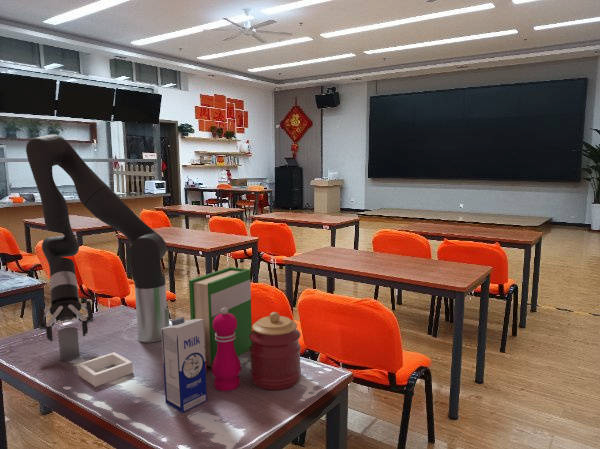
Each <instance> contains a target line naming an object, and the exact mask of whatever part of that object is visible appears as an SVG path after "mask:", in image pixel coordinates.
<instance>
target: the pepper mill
mask: <svg viewBox="0 0 600 449" xmlns="http://www.w3.org/2000/svg"><path fill="white" fill-rule="evenodd" d="M236 328H237V320H236V318H235V316H234V315H232V314H230V313H228V309H227V308H222V309H221V314H219V315H217V316H216V317H215V318H214V320H213V330H214V331H215V332H216V333H215V340H216V341H217V354H216V356H215V359H214V361H213V364H212V371H211V373H212V375H213V376H214V380H213V381H214V383H213V384H214V389H216V390H218V391H220V392H221V391H222V392H229V391H234V390H236V389H237V388H239V386H240V383H241V381H240V380H241V379H240V373H241V371H242V364H241V361H240V360H241V359H240V358H239V356H237V354H236V351H235V348H234V339H235V338H236V336H235V334H236V333H235V332H234V331H235V329H236Z"/></svg>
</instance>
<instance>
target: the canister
mask: <svg viewBox="0 0 600 449" xmlns="http://www.w3.org/2000/svg"><path fill="white" fill-rule="evenodd" d="M297 326H298V324H297V322H295V321H294V320H292V319H291V318H289V317H287V316H283V315H280V314H279V313H278V312H276V311H272V312H270V314H269V316H263V317H262V318H260V319H258V320H257V321H256V322H254V323H252V332H251V333H250V335H249V338H250V340H251V346H250V349H249V351H250V352H249V354H250V370H249V375H250V379H251V383H252V384H253V385H254V386H255V387H257V388H259V389H263V390H269V391H279V390H285V389H289V388H291V387H294V386H295V385H297V384H298V383H299V381H300V379H301V375H302V366H301V349H302V346H301V344H300V342H299V339H300V338H301V332H300V331H299V329H297Z"/></svg>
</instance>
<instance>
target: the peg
mask: <svg viewBox="0 0 600 449" xmlns="http://www.w3.org/2000/svg"><path fill="white" fill-rule="evenodd" d="M57 338H58V349H59V358H60V359H59V360H60V361H64V362H66V361H73V360H76V359H77V358H80V345H79V343H80V342H79V332H78V328H77V327H74V326H73V327H65V328H61V329H59V330H58V331H57Z"/></svg>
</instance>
